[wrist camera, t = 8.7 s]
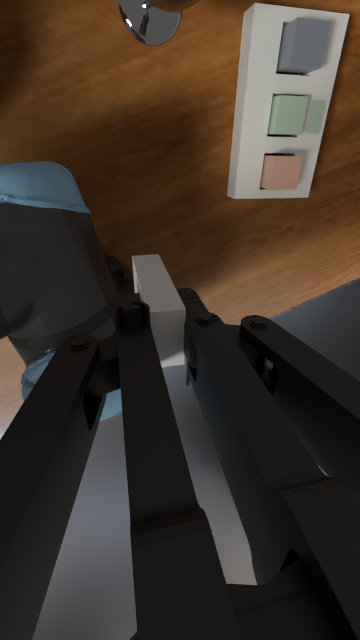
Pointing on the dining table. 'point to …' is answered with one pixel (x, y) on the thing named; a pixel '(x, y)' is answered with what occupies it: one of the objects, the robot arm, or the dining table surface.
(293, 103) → the sage button
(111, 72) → the dining table surface
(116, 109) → the dining table surface
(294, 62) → the slate grey button
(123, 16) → the silver goblet
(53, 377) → the robot arm
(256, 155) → the button board
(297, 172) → the salmon pink button
